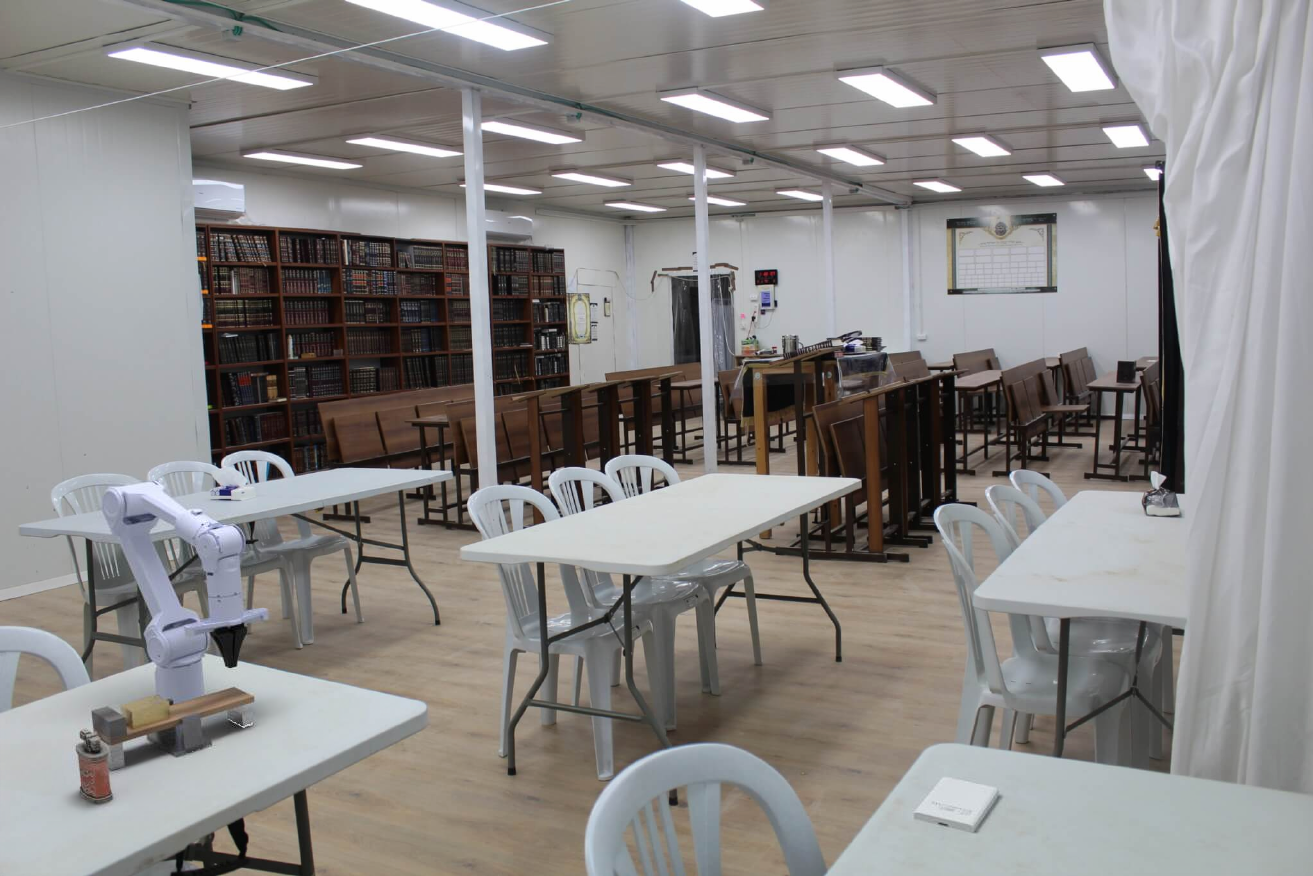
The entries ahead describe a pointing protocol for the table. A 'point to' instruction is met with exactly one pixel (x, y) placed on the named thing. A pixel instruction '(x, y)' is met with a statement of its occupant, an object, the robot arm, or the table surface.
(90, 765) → the lighter
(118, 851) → the table surface
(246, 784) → the table surface
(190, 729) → the stand
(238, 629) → the robot arm
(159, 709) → the block
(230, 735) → the table surface
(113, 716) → the beam
